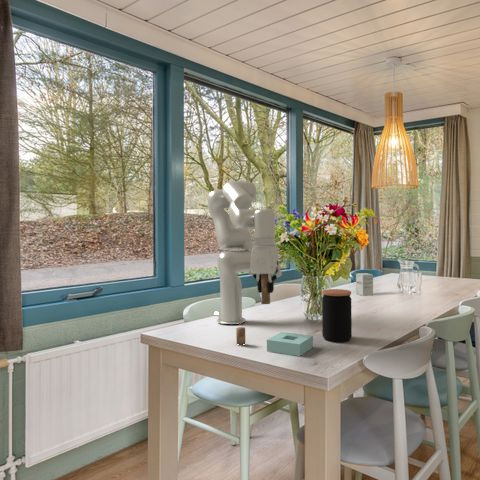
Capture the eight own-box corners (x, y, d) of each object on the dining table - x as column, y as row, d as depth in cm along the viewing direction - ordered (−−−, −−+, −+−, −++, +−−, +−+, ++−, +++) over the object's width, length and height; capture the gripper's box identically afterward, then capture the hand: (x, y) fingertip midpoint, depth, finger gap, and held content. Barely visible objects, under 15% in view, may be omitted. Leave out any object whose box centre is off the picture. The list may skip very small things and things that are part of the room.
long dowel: (259, 303, 161) (259, 271, 160) (263, 302, 164) (263, 270, 163) (267, 304, 159) (267, 271, 159) (271, 303, 162) (271, 270, 162)
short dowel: (235, 345, 157) (234, 328, 157) (239, 343, 160) (239, 326, 159) (242, 346, 155) (242, 329, 155) (247, 344, 158) (246, 327, 158)
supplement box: (355, 294, 263) (355, 273, 263) (366, 293, 266) (366, 272, 265) (362, 296, 256) (362, 274, 256) (373, 295, 259) (373, 274, 258)
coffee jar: (347, 335, 168) (346, 288, 168) (355, 342, 158) (355, 293, 157) (319, 335, 168) (319, 289, 167) (326, 343, 157) (325, 293, 157)
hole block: (266, 351, 149) (266, 339, 149) (281, 342, 159) (281, 331, 159) (299, 356, 143) (299, 344, 143) (313, 347, 153) (312, 335, 153)
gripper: (240, 243, 162) (241, 292, 162) (280, 243, 153) (281, 295, 154) (250, 242, 168) (251, 289, 169) (289, 242, 160) (290, 292, 160)
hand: (265, 291), depth 161 cm, fingers closed on long dowel, 3 cm apart
